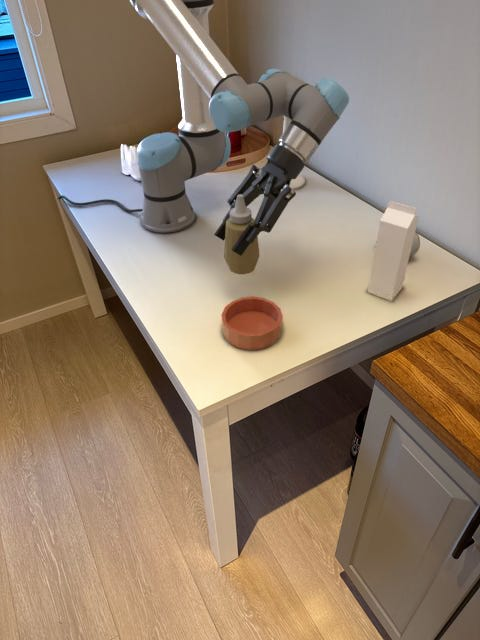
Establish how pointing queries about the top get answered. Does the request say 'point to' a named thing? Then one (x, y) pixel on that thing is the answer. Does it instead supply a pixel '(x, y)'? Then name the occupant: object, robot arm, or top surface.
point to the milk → (392, 250)
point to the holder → (252, 323)
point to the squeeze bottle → (233, 232)
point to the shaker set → (130, 162)
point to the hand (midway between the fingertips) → (227, 245)
